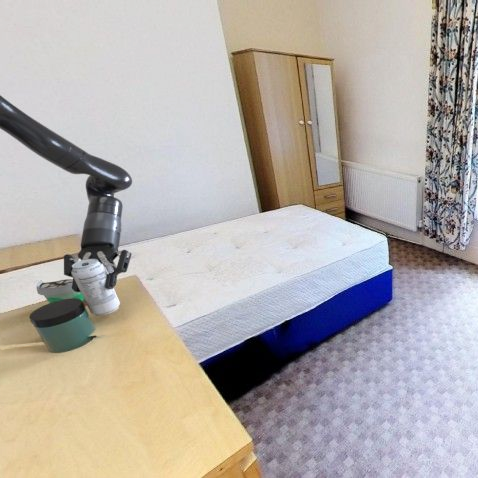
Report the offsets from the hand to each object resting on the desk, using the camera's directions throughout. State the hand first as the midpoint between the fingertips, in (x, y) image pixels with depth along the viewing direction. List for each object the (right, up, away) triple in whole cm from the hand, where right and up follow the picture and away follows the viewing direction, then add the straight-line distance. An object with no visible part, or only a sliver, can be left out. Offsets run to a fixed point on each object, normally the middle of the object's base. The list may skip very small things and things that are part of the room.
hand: (93, 289), depth 85 cm
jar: (-5, -13, 0) cm, 14 cm away
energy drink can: (-1, -7, +4) cm, 8 cm away
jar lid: (-5, -5, -4) cm, 8 cm away
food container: (-17, -8, +10) cm, 22 cm away
